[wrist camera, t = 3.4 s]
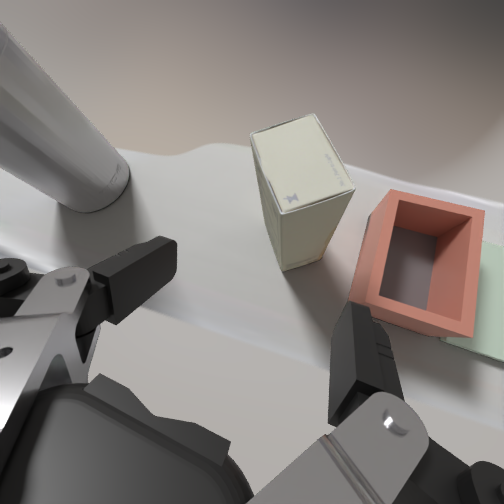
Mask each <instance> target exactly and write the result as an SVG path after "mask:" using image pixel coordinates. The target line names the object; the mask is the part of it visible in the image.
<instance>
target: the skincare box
mask: <svg viewBox="0 0 504 504" xmlns="http://www.w3.org/2000/svg"><path fill="white" fill-rule="evenodd" d="M250 141H251V147H252V152H253V158H254V164H255V169H256V175H257V181H258V186H259V192H260V198H261V204H262V210H263V216H264V221H265V225H266V228H267V232H268V235H269V238H270V241H271V244H272V247H273V249H274V252H275V255H276V258H277V261H278V263H279V266H280V269H281V271H286V270H290V269H293V268H297V267H300V266H303V265H306V264H309V263H312V262H315V261H318V260H320V259H321V258H322V256H323V254H324V252H325V250H326V248H327V246H328V244H329V242H330V240H331V238H332V236H333V234H334V231H335V230H336V228H337V225H338V223H339V221H340V219H341V217H342V215H343V213H344V211H345V209H346V207H347V205H348V203H349V201H350V199H351V197H352V195H353V193H354V191H355V189H356V188H355V185H354V183H353V181H352V179H351V177H350V175H349V173H348V171H347V169H346V168H345V166H344V164H343V162H342V160H341V159H340V157H339V155H338V153H337V151H336V149H335V148H334V146H333V144H332V142H331V141H330V139H329V137H328V135H327V134H326V132H325V130H324V129H323V127H322V125H321V124H320V122H319V120H318V119H317V117H316V115H315V114H309V115H305V116H302V117H299V118H296V119H292V120H289V121H286V122H283V123H280V124H276V125H273V126H271V127H267V128H264V129H261V130H258V131H255V132H252V133H251V134H250Z"/></svg>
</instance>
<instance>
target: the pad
mask: <svg viewBox="0 0 504 504" xmlns="http://www.w3.org/2000/svg"><path fill="white" fill-rule="evenodd" d="M440 341H443V342H446V343H449V344H452V345H455V346H458V347H461V348H463V349H466V350H469V351H472V352H475V353H478V354H481V355H484V356H487V357H490V358H492V359H495V360H498V361H501V362H504V246H500V245H496V244H492V243H488V242H484V241H482V247H481V258H480V268H479V279H478V290H477V300H476V311H475V321H474V332H473V338H461V337H440Z"/></svg>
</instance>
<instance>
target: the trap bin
mask: <svg viewBox="0 0 504 504" xmlns="http://www.w3.org/2000/svg"><path fill="white" fill-rule="evenodd" d="M484 215H485V211H484V210H479V209H475V208H471V207H466V206H462V205H458V204H453V203H449V202H444V201H440V200H436V199H431V198H427V197H423V196H418V195H414V194H410V193H405V192H401V191H397V190H392V189H390V191H389V192H388V193H387V194H386V196H385V197H384V198H383V199H382V201H381V202H380V203H379V204H378V206H377V207H376V208H375V209H374V211H373V212H372V213H371V214H370V216H369V218H368V222H367V226H366V230H365V234H364V238H363V242H362V246H361V250H360V254H359V258H358V262H357V266H356V270H355V274H354V278H353V282H352V286H351V290H350V294H349V298H348V301H349V300H350V301H353V302H356V303H359V304H362V305H365V306H368V307H369V308H370V311H371V317H373V318H376V319H379V320H382V321H385V322H388V323H391V324H394V325H397V326H400V327H402V328H405V329H408V330H411V331H414V332H417V333H420V334H423V335H426V336H437V337H461V338H473V332H474V321H475V311H476V300H477V290H478V279H479V268H480V258H481V247H482V237H483V226H484Z"/></svg>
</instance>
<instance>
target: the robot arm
mask: <svg viewBox="0 0 504 504" xmlns="http://www.w3.org/2000/svg"><path fill="white" fill-rule="evenodd" d="M0 168H2V169H3V170H5V171H7V172H9V173H10V174H12V175H14V176H15V177H17V178H19V179H21V180H22V181H24V182H26V183H27V184H29V185H31V186H33V187H34V188H36V189H38V190H39V191H41V192H43V193H44V194H46V195H48V196H49V197H51V198H53V199H55V200H56V201H58V202H60V203H61V204H63V205H65V206H67V207H68V208H70V209H72V210H74V211H77V212H84V213H86V212H93V211H97V210H100V209H102V208H104V207H106V206H108V205H109V204H111V203H112V202H114V201H115V200H116V199H117V198H118V197H119V196H120V194H121V193H122V192H123V190H124V189H125V187H126V185H127V182H128V178H129V168H128V164H127V163H126V161H125V159H124V158H123V157H122V156H121V155H120V154H119V153H118V152H117V150H116V149H115V148H114V147H113V146H112V145H111V144H110V143H109V142H108V141H107V139H106V138H105V137H104V136H103V135H102V134H101V133H100V131H99V130H98V129H97V128H96V127H95V126H94V125H93V124H92V123H91V122H90V120H89V119H88V118H87V117H86V116H85V115H84V114H83V113H82V112H81V110H80V109H79V108H78V107H77V106H76V105H75V104H74V103H73V102H72V100H70V98H69V97H68V96H67V95H66V94H65V93H64V92H63V91H62V89H61V88H60V87H59V86H58V85H57V84H56V83H55V82H54V81H53V79H52V78H51V77H50V76H49V75H48V74H47V73H46V72H45V71H44V69H43V68H42V67H41V66H40V65H39V64H38V63H37V62H36V61H35V59H33V57H32V56H31V55H30V54H29V53H28V52H27V51H26V49H25V48H23V46H22V45H21V44H20V43H19V42H18V41H17V40H16V39H15V38H14V36H13V35H12V34H11V33H10V32H9V31H8V30H7V28H6V27H5V26H4V25H3V24H2V23H1V22H0ZM176 270H177V243H176V241H175V240H172V239H169V238H166V237H163V236H158V237H156V238H154V239H152V240H150V241H148V242H145V243H141V244H137V245H134V246H132V247H130V248H128V249H126V251H122V252H120V253H118V255H114V256H112V257H110V258H108V259H106V260H104V261H102V262H100V263H98V264H96V265H94V266H92V267H91V268H89V269H87V270H86V269H84V268H80V267H66V268H60V269H57V270H54V271H51V272H49V273H47V274H46V275H44V274H36V273H29V270H28V268H27V265H26V263H25V261H23V260H21V259H16V258H4V259H0V504H504V469H502V468H501V467H499V466H497V465H495V464H492V463H490V462H486V461H479V462H476V463H474V464H473V465H471V466H470V467H469V466H468V465H467V464H465V463H464V462H462V461H461V460H460V459H458V458H457V457H455V456H454V455H453V454H451V453H450V452H448V451H447V450H446V449H444V448H443V447H442V446H440V445H439V444H437V443H436V442H435V441H434V440H432V439H431V438H430V437H429V436H428V433H427V431H426V428H425V426H424V424H423V422H422V421H421V419H420V417H419V416H418V415H417V413H416V412H415V411H414V410H413V409H412V408H411V407H410V406H409V405H408V404H407V403H406V402H405V400H404V396H403V392H402V388H401V384H400V380H399V376H398V372H397V368H396V364H395V361H394V356H393V352H392V350H391V344H390V340H389V336H388V335H387V333H386V332H385V331H384V329H383V328H382V326H381V325H380V324H378V323H375V322H372V317H371V311H370V308H369V307H368V306H365V305H362V304H359V303H356V302H353V301H350V300H349V301H348V302H347V304H346V306H345V308H344V310H343V312H342V314H341V316H340V318H339V320H338V322H337V324H336V326H335V329H334V331H333V335H332V340H331V359H330V384H329V407H328V408H329V409H328V424H330V425H332V426H335V427H337V428H336V429H334V431H332V432H331V433H330V434H329V435H326V434H325V435H323V436H322V437H320V438H319V439H318V440H317V441H316V442H314V443H313V444H312V445H311V446H310V447H309V448H308V449H307V450H305V451H304V452H303V453H302V454H301V455H300V456H299V457H298V458H297V459H296V460H294V461H293V462H292V463H291V464H290V465H289V466H288V467H286V469H284V470H283V471H282V472H281V473H280V474H279V475H278V476H276V477H275V478H274V479H273V480H272V481H271V482H270V483H269V484H267V485H266V486H265V487H264V488H263V489H262V490H261V491H260V492H259V493H257V494H256V495H255V496H254V494H253V492H252V490H251V488H250V485H249V483H248V481H247V479H246V478H245V476H244V474H243V472H242V471H241V470H240V468H239V467H238V465H237V464H236V463H235V461H234V460H233V459H232V458H231V457H230V456H229V455H228V450H229V447H230V443H231V442H230V441H228V440H227V439H225V438H223V437H221V436H219V435H217V434H215V433H213V432H211V431H209V430H207V429H206V428H204V427H202V426H199V425H198V424H196V423H192V422H186V421H180V420H175V419H169V418H163V417H157V416H155V415H153V414H152V413H150V411H149V410H148V409H147V408H146V407H145V406H144V405H143V404H142V403H141V401H139V399H138V398H137V397H136V396H135V395H134V394H133V393H132V392H131V391H130V389H128V388H127V387H125V386H123V385H121V384H119V383H117V382H115V381H113V380H111V379H110V378H108V377H106V376H104V375H102V374H99V375H98V376H96V377H95V378H94V379H93V380H92V381H91V382H90V383H88V371H89V367H90V364H91V361H92V357H93V354H94V350H95V347H96V343H97V340H98V337H99V333H100V324H101V323H102V322H103V321H104V320H106V321H108V322H110V323H113V324H115V325H117V324H118V323H120V322H121V321H122V320H123V319H124V318H126V317H127V316H128V315H129V314H131V313H132V312H133V311H134V310H135V309H137V308H138V307H139V306H140V305H142V304H143V303H144V302H145V301H146V300H148V299H149V298H150V297H151V296H152V295H154V294H155V293H156V292H157V291H159V290H160V289H161V288H162V287H163V286H165V285H166V284H167V283H168V282H169V281H171V280H172V279H173V277H174V275H175V273H176Z"/></svg>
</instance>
